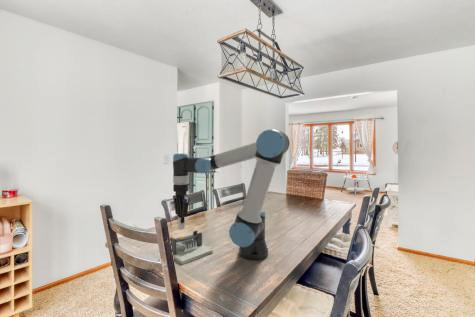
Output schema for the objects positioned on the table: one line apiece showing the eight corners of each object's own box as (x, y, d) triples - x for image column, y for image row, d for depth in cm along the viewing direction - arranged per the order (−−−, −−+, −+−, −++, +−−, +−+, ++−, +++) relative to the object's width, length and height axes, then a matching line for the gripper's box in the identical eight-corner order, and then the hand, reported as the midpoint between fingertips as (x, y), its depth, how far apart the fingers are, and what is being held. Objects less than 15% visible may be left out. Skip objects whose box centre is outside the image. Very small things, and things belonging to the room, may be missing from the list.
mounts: (202, 245, 130) (202, 232, 129) (174, 254, 118) (174, 240, 118) (196, 242, 133) (196, 230, 133) (169, 251, 122) (169, 237, 122)
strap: (200, 238, 130) (200, 234, 130) (176, 243, 120) (177, 239, 120) (197, 236, 132) (197, 233, 132) (173, 241, 122) (174, 238, 122)
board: (212, 252, 124) (212, 249, 124) (182, 264, 112) (182, 261, 112) (189, 240, 140) (189, 237, 140) (160, 249, 128) (160, 246, 128)
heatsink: (197, 248, 125) (197, 241, 125) (184, 253, 120) (184, 245, 120) (188, 243, 132) (188, 236, 132) (175, 247, 126) (175, 240, 126)
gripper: (194, 184, 120) (194, 230, 121) (180, 181, 129) (181, 224, 131) (181, 186, 115) (181, 234, 116) (168, 182, 124) (168, 227, 126)
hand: (181, 228), depth 123 cm, fingers closed
